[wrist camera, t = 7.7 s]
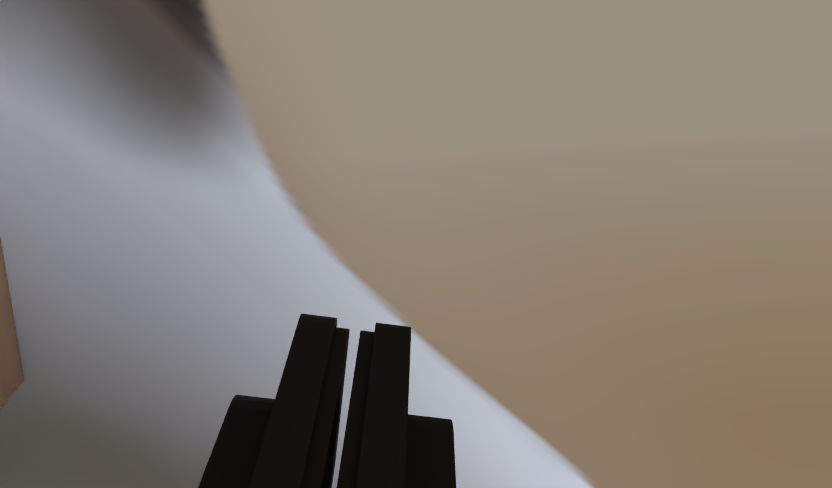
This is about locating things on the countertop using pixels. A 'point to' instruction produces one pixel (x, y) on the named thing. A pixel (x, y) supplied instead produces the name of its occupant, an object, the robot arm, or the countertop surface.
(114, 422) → the countertop surface
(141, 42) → the countertop surface
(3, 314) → the base plate
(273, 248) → the countertop surface
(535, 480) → the countertop surface
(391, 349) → the robot arm
